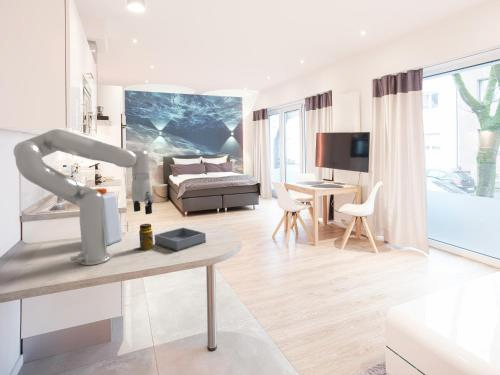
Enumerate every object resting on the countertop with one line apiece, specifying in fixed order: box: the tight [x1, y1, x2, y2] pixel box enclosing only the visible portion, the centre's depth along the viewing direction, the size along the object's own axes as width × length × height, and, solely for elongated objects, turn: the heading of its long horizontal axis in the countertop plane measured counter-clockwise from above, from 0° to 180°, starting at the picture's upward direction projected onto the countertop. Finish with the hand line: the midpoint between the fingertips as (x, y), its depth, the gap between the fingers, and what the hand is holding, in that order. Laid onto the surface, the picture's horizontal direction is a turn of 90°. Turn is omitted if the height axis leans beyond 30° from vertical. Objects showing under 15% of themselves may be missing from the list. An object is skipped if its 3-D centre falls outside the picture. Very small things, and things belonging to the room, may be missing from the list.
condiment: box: [133, 223, 157, 253], centre depth 153 cm, size 7×8×12 cm
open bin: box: [154, 227, 207, 253], centre depth 161 cm, size 18×18×5 cm
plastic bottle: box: [94, 187, 123, 247], centre depth 163 cm, size 15×15×28 cm
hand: (142, 212), depth 151 cm, fingers open, 9 cm apart
